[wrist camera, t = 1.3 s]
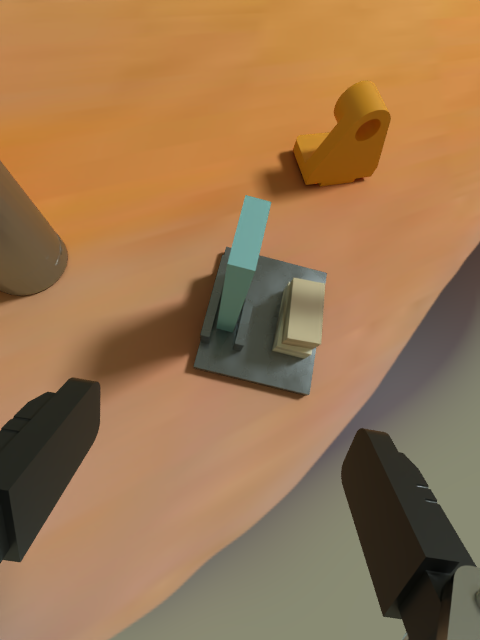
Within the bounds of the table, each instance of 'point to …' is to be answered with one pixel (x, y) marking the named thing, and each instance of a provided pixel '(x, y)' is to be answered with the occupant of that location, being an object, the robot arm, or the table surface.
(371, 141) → the bracket
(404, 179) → the table surface
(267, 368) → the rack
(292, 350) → the block
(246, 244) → the teal rectangular slab
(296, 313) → the offcut top
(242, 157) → the table surface
